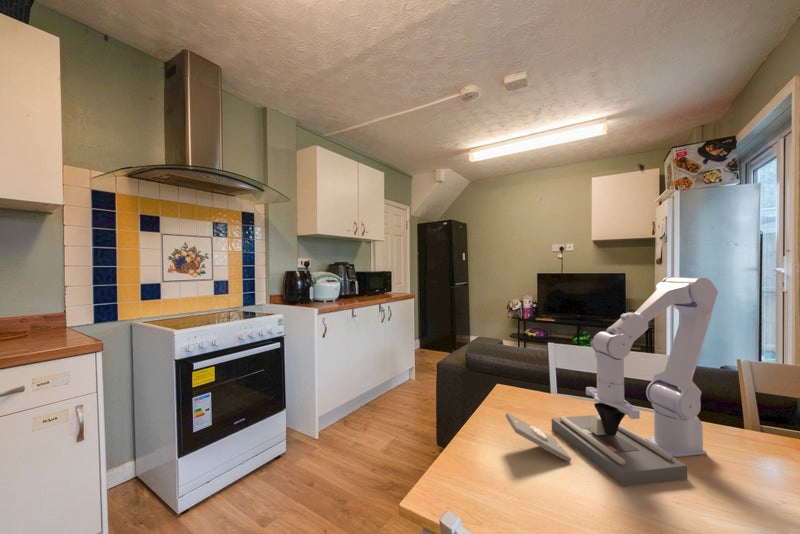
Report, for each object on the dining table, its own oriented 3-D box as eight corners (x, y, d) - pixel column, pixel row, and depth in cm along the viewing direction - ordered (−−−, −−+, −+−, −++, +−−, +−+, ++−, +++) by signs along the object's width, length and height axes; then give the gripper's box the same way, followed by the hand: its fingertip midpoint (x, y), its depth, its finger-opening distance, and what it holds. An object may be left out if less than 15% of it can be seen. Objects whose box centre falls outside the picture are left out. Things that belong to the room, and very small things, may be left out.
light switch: (573, 455, 74) (519, 425, 75) (561, 477, 74) (507, 446, 75) (557, 436, 82) (508, 409, 83) (546, 455, 83) (497, 428, 83)
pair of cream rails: (600, 416, 90) (600, 412, 90) (673, 460, 70) (673, 454, 70) (558, 420, 88) (558, 415, 88) (620, 466, 68) (620, 459, 68)
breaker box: (601, 424, 92) (601, 414, 92) (687, 479, 68) (687, 465, 68) (551, 428, 90) (551, 418, 90) (622, 486, 66) (622, 472, 66)
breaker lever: (608, 429, 83) (607, 414, 83) (614, 433, 81) (614, 418, 81) (591, 431, 82) (591, 415, 82) (596, 435, 80) (596, 419, 80)
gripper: (575, 371, 85) (575, 421, 85) (620, 392, 71) (620, 452, 71) (598, 370, 86) (598, 419, 86) (647, 390, 72) (647, 449, 72)
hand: (610, 434), depth 79 cm, fingers closed
